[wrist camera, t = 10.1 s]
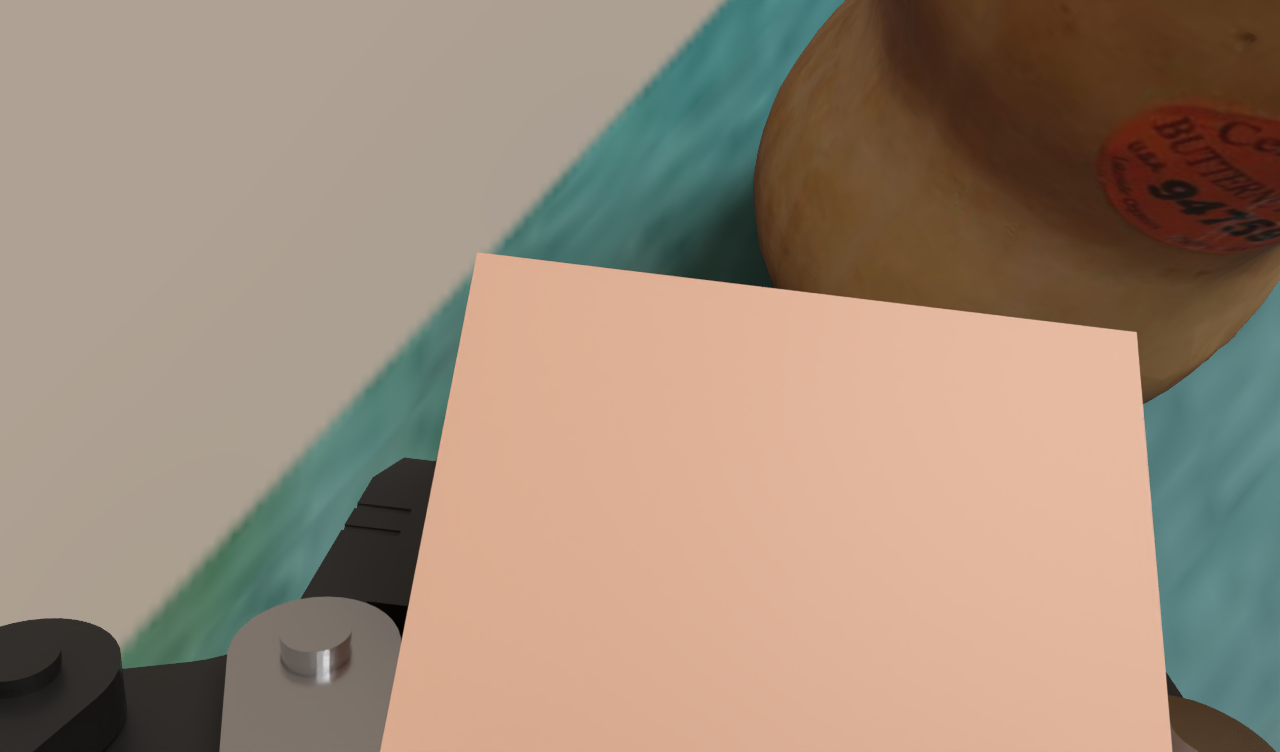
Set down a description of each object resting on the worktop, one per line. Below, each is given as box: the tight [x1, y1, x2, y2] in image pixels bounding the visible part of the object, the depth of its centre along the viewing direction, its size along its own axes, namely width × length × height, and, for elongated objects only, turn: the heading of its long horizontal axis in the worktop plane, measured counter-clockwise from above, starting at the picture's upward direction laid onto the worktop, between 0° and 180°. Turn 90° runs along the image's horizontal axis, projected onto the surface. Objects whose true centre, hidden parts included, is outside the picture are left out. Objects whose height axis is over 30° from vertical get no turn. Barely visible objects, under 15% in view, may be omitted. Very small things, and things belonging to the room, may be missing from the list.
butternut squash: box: [753, 0, 1280, 404], centre depth 22 cm, size 14×13×25 cm
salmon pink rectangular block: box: [380, 253, 1172, 752], centre depth 11 cm, size 5×5×9 cm
